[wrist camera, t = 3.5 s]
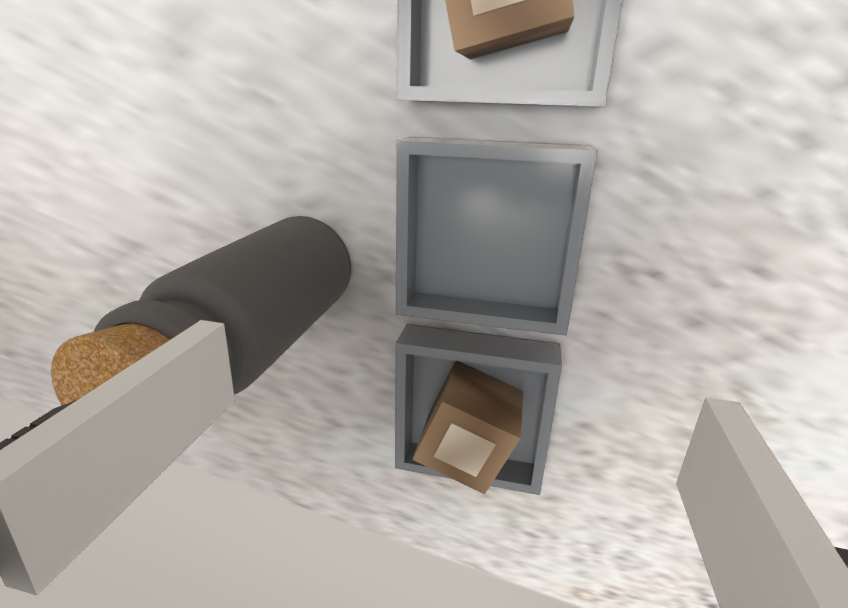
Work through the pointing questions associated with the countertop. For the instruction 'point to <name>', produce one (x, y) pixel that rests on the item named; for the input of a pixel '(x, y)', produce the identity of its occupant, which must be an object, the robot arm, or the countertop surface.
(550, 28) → the cube
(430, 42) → the dish
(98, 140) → the countertop surface
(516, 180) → the dish
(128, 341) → the bottle
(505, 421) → the cube
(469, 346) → the dish
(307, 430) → the countertop surface
